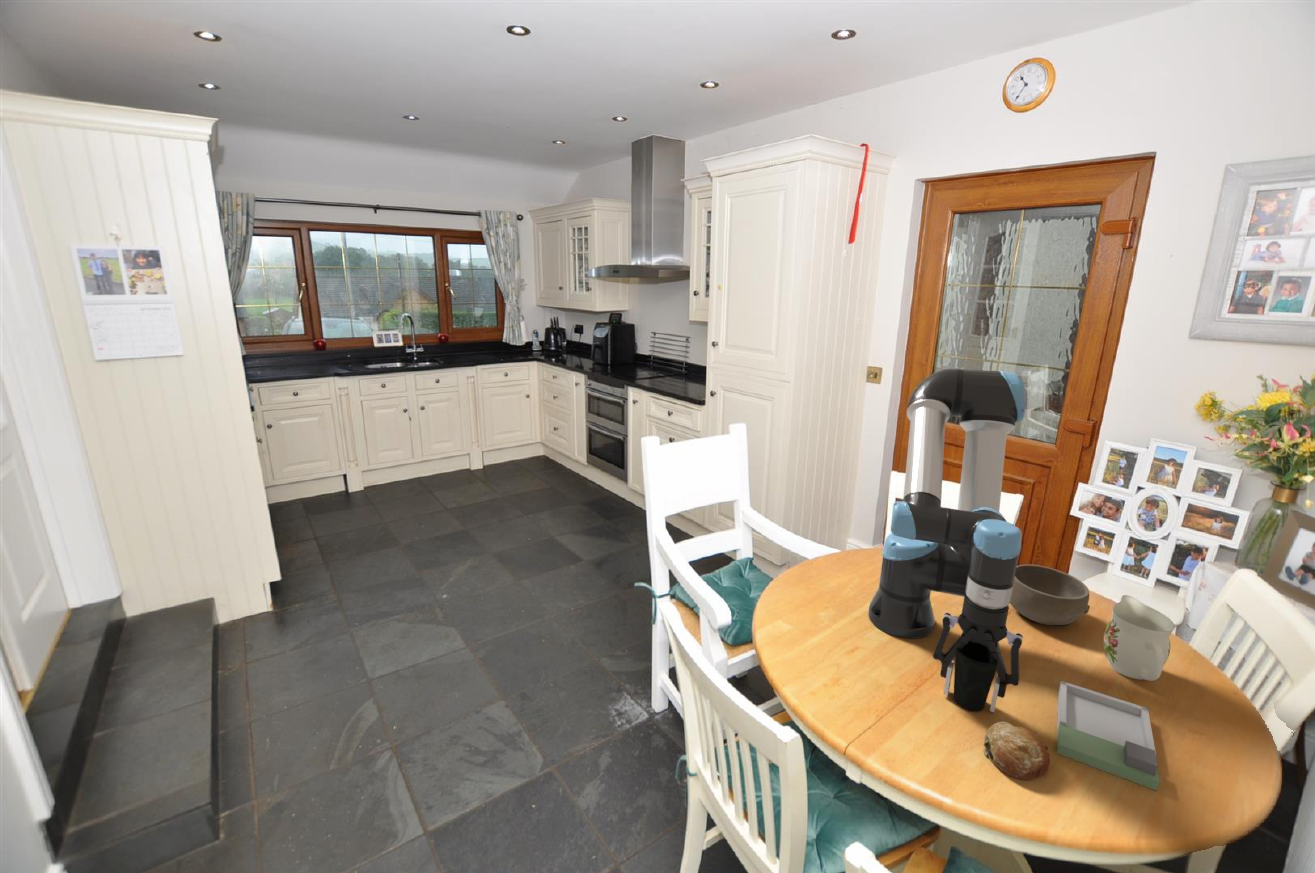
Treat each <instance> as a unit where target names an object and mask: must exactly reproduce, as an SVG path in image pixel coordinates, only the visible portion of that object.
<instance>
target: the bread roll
mask: <svg viewBox="0 0 1315 873" xmlns="http://www.w3.org/2000/svg"><path fill="white" fill-rule="evenodd" d="M983 743H984V744H983V746H984V748H983V755H985V757H986V758H988V760H990V761H991V762H992V763H993V765H995V767H997V768H999V770H1000V771H1001V772H1002V773H1004V774H1006V775H1007V776H1009V777H1011V778H1013V779H1017V780H1021V781H1032V780H1035V779H1038V778H1040V777H1042V776H1044V775H1045V773H1046V772H1048V770H1049V767H1050V762H1051V761H1050V754H1049V751H1048V746H1047V745H1046V743H1044V741H1043V740H1042V739H1041V737H1039V735H1037V734H1036V732H1034V731H1031V730H1029V729H1028V728H1026V727H1021V726H1018V725H1015V724H1012V723H1010V722H1007V721H1000V722H998V721H997V722H995V723H994V724H992V725H990V727H989V728H988V729H987V730H986V733H985V736H984V741H983Z"/></svg>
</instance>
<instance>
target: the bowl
mask: <svg viewBox="0 0 1315 873" xmlns="http://www.w3.org/2000/svg"><path fill="white" fill-rule="evenodd" d="M1089 601H1090V590H1089V588H1088V586H1087V585H1086V584H1085V583H1084V582H1082V581H1081V580H1079V579H1078V578H1077V577H1075V576H1073V575H1071V574H1069V573H1066V572H1064V571H1061V570H1058V569H1055V568H1051V567H1048V566H1044V565H1039V564H1019V565H1017V567H1016V572H1015V577H1014V582H1013V589H1012V595H1011V600H1010V604H1009V605H1011V607H1012V608H1013V609H1014V610H1015V611H1017V613H1019V614H1021V615H1022V616H1023V617H1025V618H1027V619H1029V620H1030V621H1032V622H1034V623H1037V624H1041V625H1046V626H1064V625H1065V626H1066V625H1069V624H1072V623H1075V622H1077V621H1078V619H1080V618H1081V617H1082V616H1083V615H1086V614H1088V613H1089V611H1090V607H1091V606H1090V605H1089Z"/></svg>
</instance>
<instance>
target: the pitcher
mask: <svg viewBox="0 0 1315 873" xmlns="http://www.w3.org/2000/svg"><path fill="white" fill-rule="evenodd" d="M1175 628H1176V627H1175V623H1174V622H1173V620H1172V619H1171V618H1169V617H1168V616H1166V614H1164V613H1162V612H1160V611H1158V610H1157V609H1155V608H1153V607H1151V606H1150V605H1149V606H1148V605H1146V604H1144V602H1142V601H1140V600H1138V599H1137V598H1135V597H1134V596H1131V595H1128V594H1124V595H1122V596H1121V598H1120V601H1119V602H1117V603H1115V604H1114V605H1113V606H1112V617H1111V619H1110V620H1109V622H1108V623H1107V625H1106V627H1105V630H1104V633H1103V649H1104V654H1105V657H1106V659H1107V661H1108V663H1109V666H1110V667H1111V668H1112V669H1113V670H1114V671H1116V672H1117V673H1119V674H1121V675H1122V676H1125V677H1127V678H1130V679H1134V680H1142V681H1143V680H1146V681H1151V682H1153V681H1156V680H1158V679H1159V678H1160V677H1161V675H1162V672H1163V670H1164V669H1163V668H1164V665H1166V663H1167V661H1168V659H1169V656H1170V652H1171V639H1170V636H1171V634H1172V633H1173V631H1174V629H1175Z"/></svg>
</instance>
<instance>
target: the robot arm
mask: <svg viewBox="0 0 1315 873" xmlns="http://www.w3.org/2000/svg"><path fill="white" fill-rule="evenodd" d="M1026 402H1027V399H1026V388H1025V384H1024V381H1023V378H1022V377H1021V376H1020V375H1019V374H1018V373H1015V372H1010V371H1009V372H1007V371H1001V370H982V369H981V370H979V369H978V370H977V369H961V368H959V369H958V368H945V369H941V370H938V371H936V372H934V373H932V374H930V375H928V376H927V377H925V379H923V380H922V381H921V382H920V383H919V384H918V385H917V386H916V387H915V389H914V390H913V391H912V393H911V395H910V397H909V399H908V403H907V408H906V417H907V419H908V420H909V421H910V422H909V423H910V424H909V433H908V434H909V435H908V443H907V444H908V446H907V454H906V455H907V456H906V465H905V474H904V475H905V476H904V484H903V485H904V487H903V496H902V501H894V502H893V505H892V512H891V523H890V534H888V535H887V536H886V538H885V541H884V544H883V545H884V546H883V548H882V552H881V555H882V562H881V569H880V574H879V575H880V576H879V583H878V584H879V585H878V588H877V591H876V592H875V594H874V596H873V597H872V600H871V601H870V603H869V606H868V619H869V620H870V622H871V623H872V624H873V625H874V626H875V627H877V628H878V629H879V630H881V631H883V632H885V633H887V634H889V635H892V636H895V637H899V638H906V639H922V638H926V637H928V636H930V634H932V633H933V631H934V626H935V616H934V612H933V606H932V602H931V592H936V593H941V594H942V593H943V594H947V595H953V596H959V597H963V604H962V609H961V613H960V614H959V615H958V616H956V615H952V614H951V613H949V612H945V613H944V615H943V618H942V630H941V633H940V635H939V638H938V640H937V644H936V646H935V650H934V652H933V655H932V658H933V659H934V660H937V661H940V663H941V668H940V674H939V675H940V677H941V678H943V679H945V682H944V688H943V695H945V696H948V694H949V691H950V687H951V682H952V681H951V680H952V675H953V670H954V665H955V656H956V648H958V649H959V651H960V650H961V649H962V648H963V647H964V646H965V645H966V644H967V643H968V642H969V641H971V642H974V643H980V644H982V645H984V646H987V647H988V648H989V651H990V653H991V655H992V658H993V662H995V661H998V663H997V666H996V673H997V675H996V676H995V682H994V687H993V692H992V697H991V702H990V707H989V712H992V713H995V710H996V705H997V704H996V703H997V699H998V697H999V698H1001V699H1004V697H1005V696H1006V690H1007V686H1008V685H1012V686H1014V687H1016V686H1017V687H1018V686H1019V684H1020V648H1021V647H1022V646H1023V645H1022V644H1023V635H1022V634H1021V633H1018V632H1017V633H1016V634H1015V633H1013V632H1012V631H1009V630H1008V628H1007V621H1008V615H1009V610H1010V606H1009V605H1011V604H1010V600H1011V595H1012V589H1013V582H1014V577H1015V572H1016V567H1017V566H1018V561H1019V557H1020V554H1021V552H1022V538H1023V534H1022V530H1021V529H1020V528H1019V527H1017V526H1015V525H1014V524H1013V523H1011V522H1009V521H1007V520H1006V518H1005V516H1004V515H1002V513H1001V512H1000V510H1001V509H1000V506H1001V498H1002V489H1003V488H1002V487H1003V477H1004V467H1005V456H1006V445H1007V444H1006V443H1007V435H1008V434H1010V433H1011V432H1012V431H1013V430H1015V428H1016V423H1020V422H1022V421H1023V420H1024V417H1025V412H1026V407H1027V406H1026V404H1027V403H1026ZM951 417H956V418H959V426H960V427H961V428H962V429H963V430H964V431H965V437H964V446H963V447H964V448H963V454H962V455H963V456H962V465H961V466H962V467H961V474H960V485H959V495H958V504H957V509H954V508H949V507H942V492H943V491H942V490H943V472H944V457H945V456H944V455H945V453H944V451H945V437H946V436H945V434H946V433H945V432H946V423H947V422H948V421H949V420H950V418H951ZM957 624H958V626H959V627H960V629H961V631H962V633H961V634H960V635H959V637H958V638H956V640H955V642H954V643H953V644H952V645H951V646H950V647H949V649H948V650H947V651H946V652H943V650H944V646H945V644H946V642H947V639H948V636H949V634H950V631H951V628H952V629H953V628H954V627H955V626H956V625H957ZM1005 638H1006V639H1007V643H1008V645H1009V646H1011V647H1010V673H1008V671H1007V668H1006V665H1005V662H1004V659H1003V655H1002V652H1001V649H1000V645H999V642H1001V641H1002V640H1003V639H1005Z"/></svg>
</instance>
